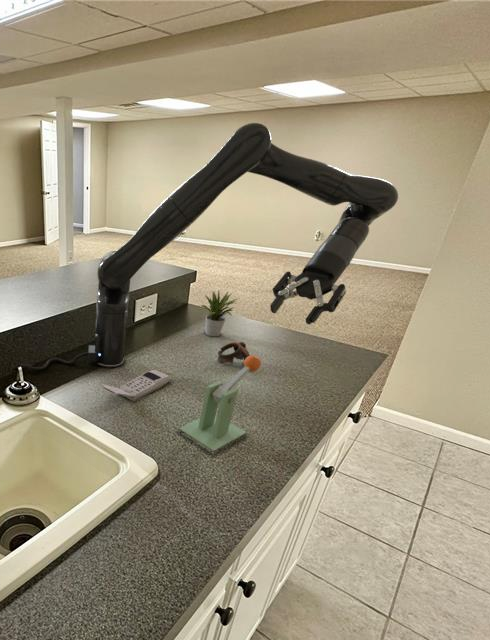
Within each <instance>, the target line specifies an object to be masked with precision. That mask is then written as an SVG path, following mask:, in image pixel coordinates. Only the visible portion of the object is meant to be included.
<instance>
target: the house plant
mask: <svg viewBox="0 0 490 640" xmlns="http://www.w3.org/2000/svg"><path fill="white" fill-rule="evenodd" d="M204 296H205V297H206V300H207V301H208V303H209V307H208V306H207V305H205V304H201V305H200V307H202V308H205V309H206V310H208V311H209V313H208V314H207V315H205V328H204V329H205V330H204V332H205V335H207V336H209V337H219V336H220V335H221V333H222V329H223V328H224V325H225V322H226V320H227V319H226V318H225V315H227V314H229V315H230V316H231V317H233V314H232V312H234V310H233V309H234V307H229V305H232V304H233V305H234V303H236V301H238V298H235V299H232V300H229V298H230V297H231V296H232V293H230V294H229V291H227V292H226V293H225V294H224V295H223V297H220V290H219V289H218V290H217V295H216V293H215V291H214V290H212V295H211V296H212V298H211V297H209V296H207V295H206V294H204Z"/></svg>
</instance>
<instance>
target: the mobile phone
mask: <svg viewBox="0 0 490 640" xmlns="http://www.w3.org/2000/svg"><path fill="white" fill-rule="evenodd" d="M171 380H173V377H172V376H169V375H168V374H166V373H164V372H161V371H159V370H157V369H151V370H148V371H146V372H143V373H141V374H140V375H139V376H137V377H136V378H134V379H132V380H130V381H128V382H126V383H124V384H123V385H120V386H119V387H117V386H114V385H113V386H112V385H108V384H103V383H102V384H101V387H102V388H103V389H105V390H107V391H109V392H111V393H113V394H114V395H120V396H123V397H125V398H126V399H129V400H130V401H132V402H135V401H138V400H140V399H142V398H144V397H145V396H147V395H149V394H151V393H153V392H154V391H156V390H158V389H160V388H162V387H163V386H165V385H166V384H167V383H168V382H170V381H171Z"/></svg>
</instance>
